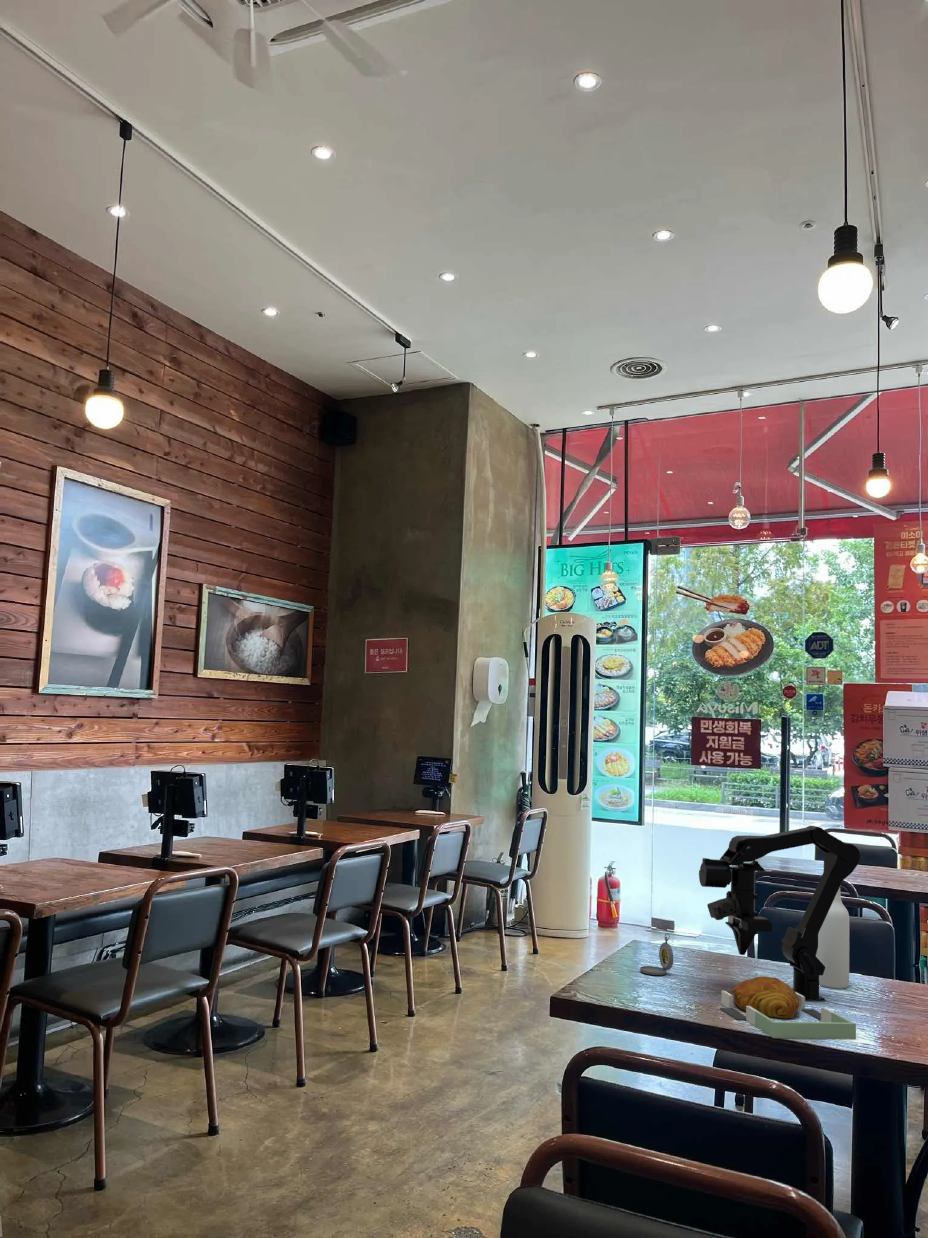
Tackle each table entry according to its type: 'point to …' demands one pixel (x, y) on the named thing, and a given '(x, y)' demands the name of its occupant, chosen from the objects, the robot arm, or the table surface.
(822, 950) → the white bottle
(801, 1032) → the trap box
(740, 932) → the robot arm
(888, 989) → the table surface
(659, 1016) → the table surface
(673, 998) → the table surface
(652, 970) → the pocket watch
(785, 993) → the croissant
